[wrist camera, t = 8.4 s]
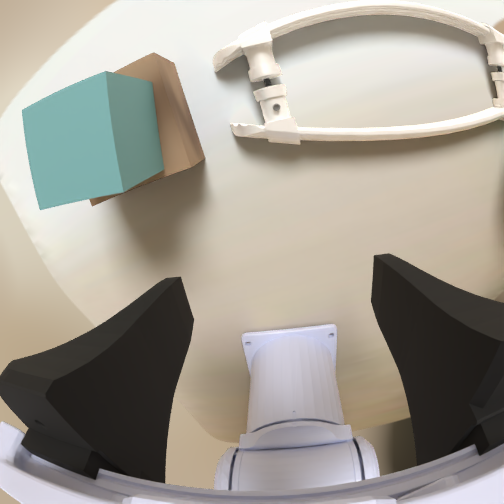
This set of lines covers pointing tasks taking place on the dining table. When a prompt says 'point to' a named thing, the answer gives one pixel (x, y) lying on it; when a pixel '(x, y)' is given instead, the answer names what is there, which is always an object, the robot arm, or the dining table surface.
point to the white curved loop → (287, 131)
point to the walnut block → (166, 118)
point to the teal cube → (92, 139)
